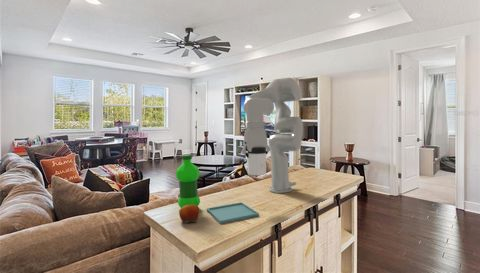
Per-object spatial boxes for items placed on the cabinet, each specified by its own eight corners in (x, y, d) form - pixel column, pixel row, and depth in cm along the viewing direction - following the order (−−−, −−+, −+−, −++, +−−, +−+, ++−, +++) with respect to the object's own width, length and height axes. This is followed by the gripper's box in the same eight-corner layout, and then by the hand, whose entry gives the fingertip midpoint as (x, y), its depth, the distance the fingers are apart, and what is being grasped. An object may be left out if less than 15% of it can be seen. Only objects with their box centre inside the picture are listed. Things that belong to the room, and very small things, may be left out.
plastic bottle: (191, 214, 111) (188, 157, 110) (173, 211, 116) (170, 156, 115) (205, 207, 120) (202, 154, 119) (187, 205, 125) (185, 153, 124)
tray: (241, 204, 122) (241, 202, 122) (258, 216, 107) (258, 213, 107) (207, 211, 115) (206, 208, 115) (220, 224, 100) (219, 220, 100)
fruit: (182, 224, 97) (179, 203, 100) (179, 228, 103) (177, 208, 107) (203, 220, 100) (200, 200, 104) (199, 224, 107) (196, 205, 110)
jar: (254, 176, 110) (254, 148, 110) (243, 173, 117) (243, 147, 116) (270, 174, 115) (270, 147, 114) (259, 171, 122) (259, 145, 121)
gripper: (267, 125, 122) (268, 163, 123) (234, 126, 115) (235, 167, 116) (276, 125, 115) (277, 166, 116) (241, 126, 108) (243, 170, 109)
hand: (256, 166), depth 116 cm, fingers closed on jar, 4 cm apart
